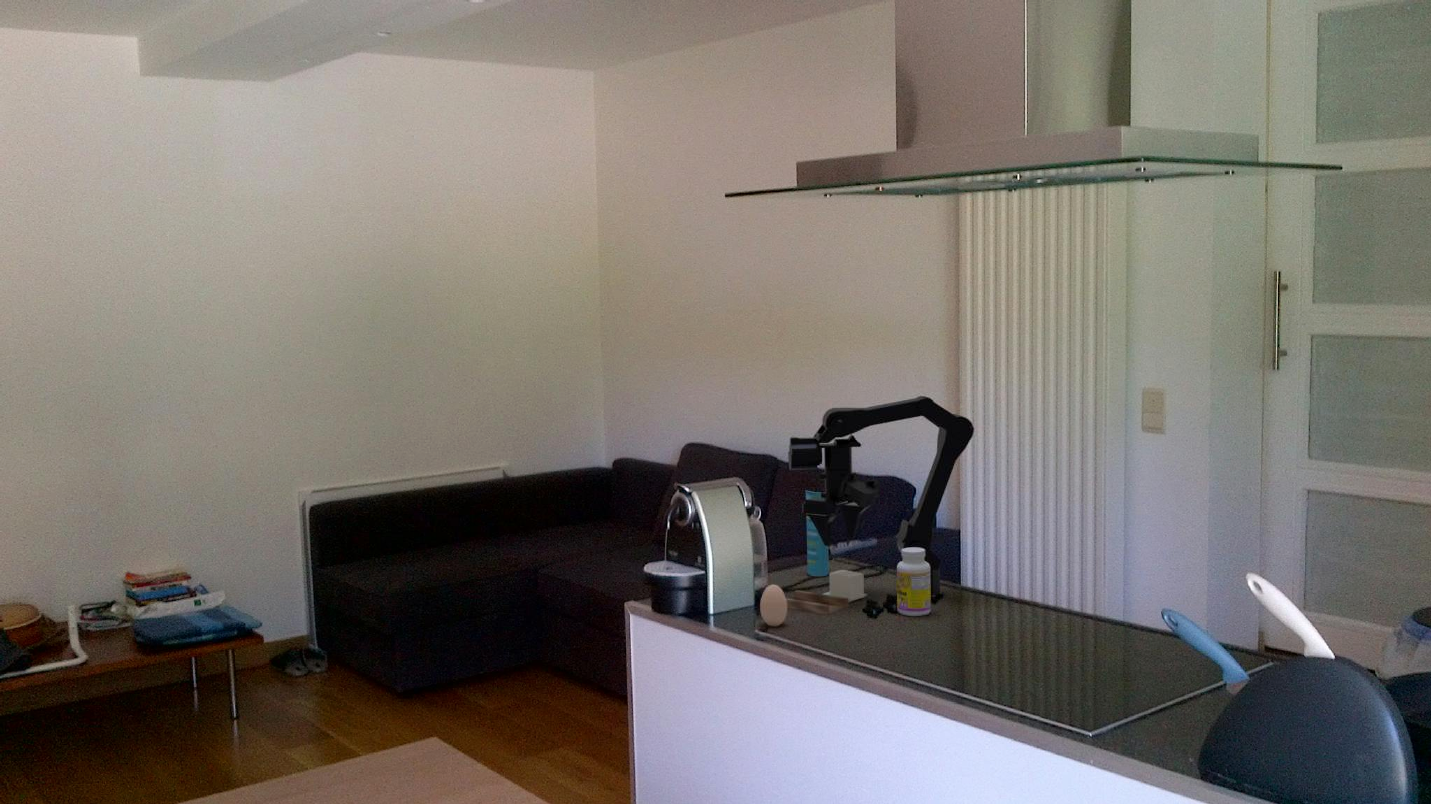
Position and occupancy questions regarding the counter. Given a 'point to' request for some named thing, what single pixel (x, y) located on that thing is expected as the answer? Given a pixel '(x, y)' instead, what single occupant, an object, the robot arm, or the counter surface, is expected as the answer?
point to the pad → (849, 600)
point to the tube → (815, 546)
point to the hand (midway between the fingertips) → (839, 542)
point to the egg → (773, 605)
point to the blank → (846, 584)
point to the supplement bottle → (913, 583)
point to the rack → (816, 602)
